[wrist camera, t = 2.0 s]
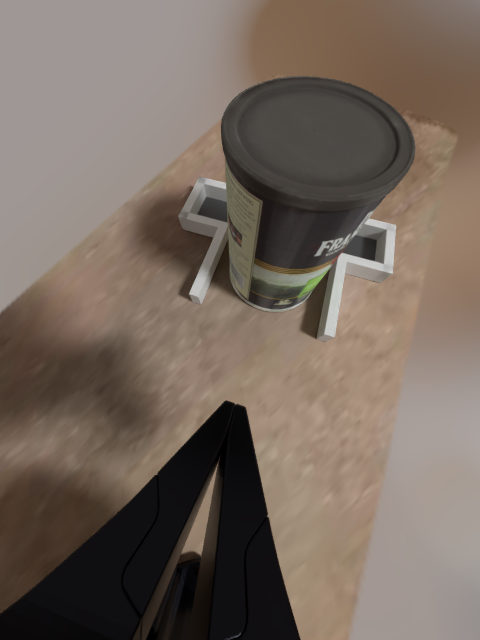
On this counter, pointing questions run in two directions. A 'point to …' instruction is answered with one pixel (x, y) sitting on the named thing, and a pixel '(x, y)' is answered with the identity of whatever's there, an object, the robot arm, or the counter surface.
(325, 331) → the trap channel
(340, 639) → the counter surface
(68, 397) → the counter surface
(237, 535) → the robot arm
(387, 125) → the coffee can
